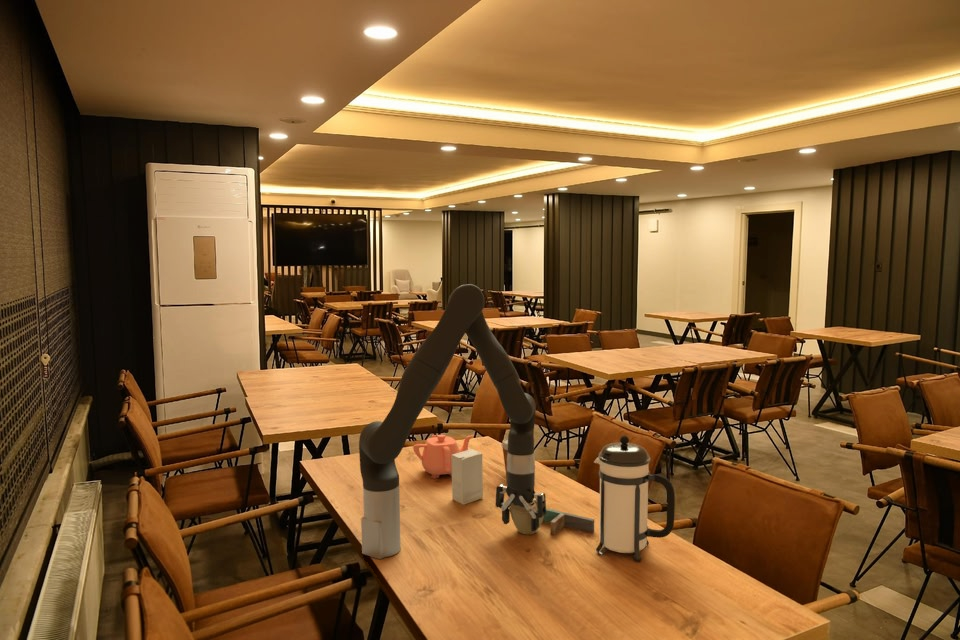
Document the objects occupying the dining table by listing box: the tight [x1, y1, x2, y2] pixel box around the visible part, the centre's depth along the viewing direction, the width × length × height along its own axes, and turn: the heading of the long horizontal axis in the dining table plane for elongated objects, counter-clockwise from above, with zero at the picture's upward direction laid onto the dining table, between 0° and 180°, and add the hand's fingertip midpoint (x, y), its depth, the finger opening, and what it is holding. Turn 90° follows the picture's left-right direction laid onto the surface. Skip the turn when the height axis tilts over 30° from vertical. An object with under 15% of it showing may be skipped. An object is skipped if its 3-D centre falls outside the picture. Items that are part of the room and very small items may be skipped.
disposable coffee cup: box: [501, 437, 508, 477], centre depth 219 cm, size 10×10×12 cm
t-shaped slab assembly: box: [542, 507, 595, 536], centre depth 176 cm, size 8×18×4 cm, turn 58°
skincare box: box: [451, 448, 484, 505], centre depth 198 cm, size 8×6×15 cm
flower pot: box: [508, 499, 544, 535], centre depth 175 cm, size 10×10×7 cm
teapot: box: [412, 434, 475, 479], centre depth 222 cm, size 16×17×14 cm
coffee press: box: [593, 435, 676, 562], centre depth 162 cm, size 17×16×30 cm
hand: (520, 526), depth 172 cm, fingers open, 8 cm apart
